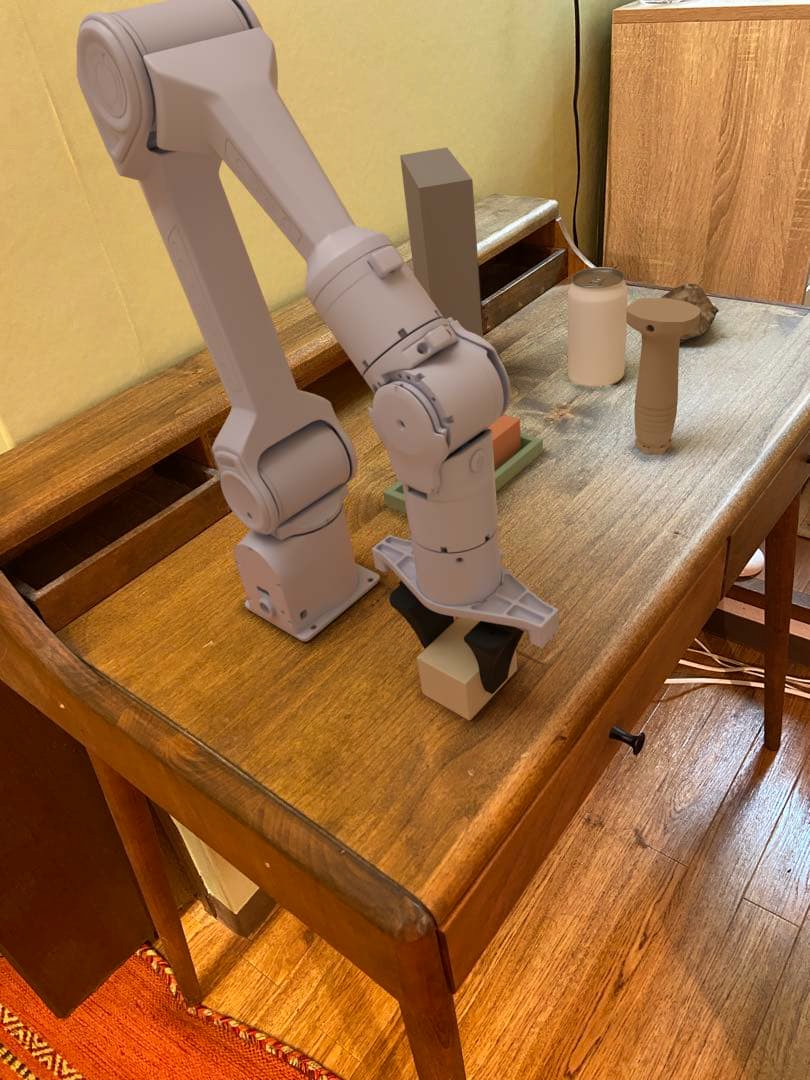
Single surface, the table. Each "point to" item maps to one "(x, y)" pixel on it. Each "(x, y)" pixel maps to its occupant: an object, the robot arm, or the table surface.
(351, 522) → the table surface
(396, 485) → the tray
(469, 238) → the tall grey pillar
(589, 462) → the table surface
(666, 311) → the handle
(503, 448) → the orange red block
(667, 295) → the fossilized seashell
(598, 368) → the can
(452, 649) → the beige block
